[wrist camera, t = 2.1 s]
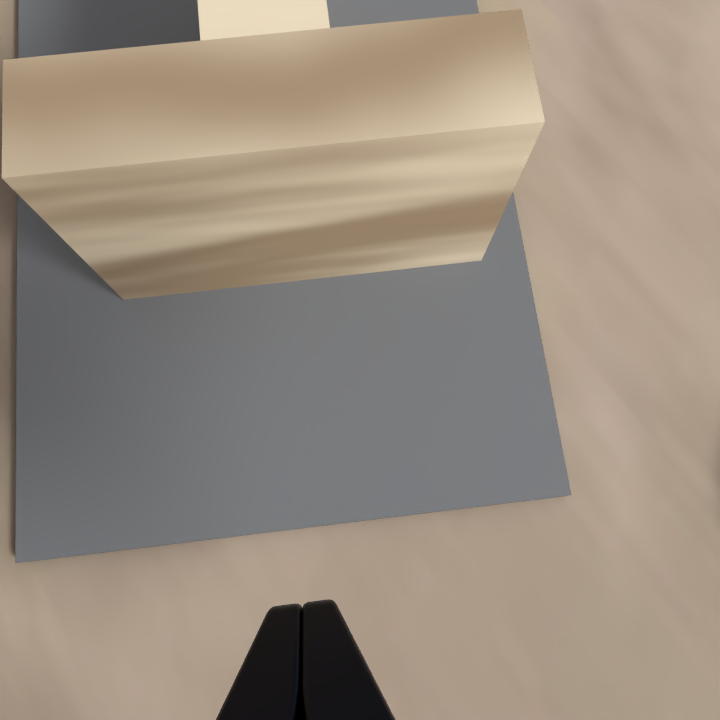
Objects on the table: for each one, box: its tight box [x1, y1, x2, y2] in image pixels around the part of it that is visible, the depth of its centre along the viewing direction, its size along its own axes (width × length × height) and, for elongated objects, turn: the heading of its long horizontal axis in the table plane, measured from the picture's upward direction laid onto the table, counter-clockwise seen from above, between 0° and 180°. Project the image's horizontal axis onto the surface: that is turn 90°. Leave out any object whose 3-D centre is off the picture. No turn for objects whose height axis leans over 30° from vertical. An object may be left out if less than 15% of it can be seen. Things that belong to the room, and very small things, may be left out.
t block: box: [2, 0, 545, 300], centre depth 20 cm, size 11×12×8 cm
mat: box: [15, 0, 571, 563], centre depth 24 cm, size 26×17×1 cm, turn 7°
